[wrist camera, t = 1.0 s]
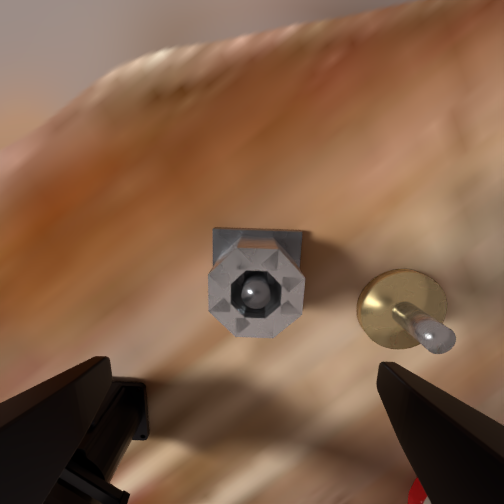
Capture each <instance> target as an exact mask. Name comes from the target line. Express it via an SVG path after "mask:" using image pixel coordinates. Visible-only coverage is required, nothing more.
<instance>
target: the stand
mask: <svg viewBox="0 0 504 504" xmlns="http://www.w3.org/2000/svg"><path fill="white" fill-rule="evenodd" d="M241 236H253V237H273V238H274V239H275V240H276V241H277V242H278V243H279V244H280V245H281V246H282V247H283V248H284V249H285V251H286V252H287V253H288V254H289V255H290V256H291V257H292V258H293V259H294V260H295V262H296V264H297V265H298V267H299V268H300V256H301V244H302V231H301V230H282V229H252V228H222V227H215V228H213V266H214V264H215V263H216V261H217V260H218V258H219V257H220V256H221V255H222V254H223V253H224V252H225V251H226V250H227V249H228V248H229V247H230V246H231V245H233V244H234V243H235V242H236V241H237V240H238V239H239V238H240V237H241ZM236 280H237V281H238V282H239V283H240V284H241V285H242V286H243V288H242V300H243V302H244V304H245V305H247V306H248V307H250V308H253V309H259V308H262V307H264V306H266V305H267V303H268V302H269V300H270V289H269V286H271V285H272V284H273V283H274V282H275V278H274V277H273V276H272V275H271V274H270V273H269V272H268V271H251V270H246V271H245V272H244V273H243V274H241V275H240V276H239V277H238V278H237V279H236Z"/></svg>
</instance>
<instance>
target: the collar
mask: <svg viewBox="0 0 504 504" xmlns="http://www.w3.org/2000/svg"><path fill="white" fill-rule="evenodd" d="M246 270H251V271H268V272H269V273H270V274H271V275H272V276H273V277H274V278H275V282H274V283H273V284H272V285H271V286H269V289H270V300H269V302H268V303H267V305H266V306H264V307H262V308H259V309H253V308H250V307H248V306H247V305H245V304H244V302H243V300H242V288H243V286H242V285H241V284H240V283H239V282H238V281H237V280H236V279H237V278H238V277H239V276H240V275H241V274H243V273H244V272H245V271H246ZM304 287H305V277H304V275H303V273H302V272H301V270H300V269H299V267H298V265H297V264H296V262H295V260H294V259H293V258H292V257H291V256H290V255H289V254H288V253H287V252H286V251H285V249H284V248H283V247H282V246H281V245H280V244H279V243H278V242H277V241H276V240H275V239H274V238H273V237H253V236H241V237H240V238H239V239H238V240H237V241H236V242H235V243H234V244H233V245H231V246H230V247H229V248H228V249H227V250H226V251H225V252H224V253H223V254H222V255H221V256H220V257H219V258H218V260H217V261H216V263H215V264H214V266H213V268H212V269H211V271H210V272H209V274H208V300H209V312H210V313H211V314H212V315H213V316H214V317H215V318H216V319H217V320H218V321H219V322H220V323H222V324H223V325H224V326H225V327H226V328H227V329H228V330H229V331H230V332H231V333H232V334H233V335H234V336H235V337H256V338H274V337H275V336H276V335H278V334H279V333H280V332H281V331H283V330H284V329H285V328H286V327H288V326H289V325H290V324H291V323H292V322H294V321H295V320H296V319H297V318H299V317H300V316H301V315H302V310H303V298H304Z"/></svg>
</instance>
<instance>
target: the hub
mask: <svg viewBox="0 0 504 504" xmlns="http://www.w3.org/2000/svg"><path fill="white" fill-rule="evenodd" d="M446 310H447V302H446V297H445V294H444V292H443V290H442V288H441V287H440V285H439V284H438V283H437V282H436V281H434V280H433V279H431V278H430V277H428V276H426V275H423V274H421V273H419V272H416V271H413V270H409V269H396V270H391V271H387V272H385V273H382V274H380V275H379V276H377V277H375V278H374V279H373V280H371V281H370V282H369V283H368V284H367V285H366V287H365V288H364V289H363V291H362V292H361V294H360V296H359V299H358V303H357V318H358V321H359V324H360V326H361V327H362V329H363V330H364V331H365V332H366V334H367V335H368V336H369V337H370V338H371V339H372V340H373V341H374V342H376V343H377V344H379V345H381V346H383V347H386V348H390V349H407V348H411V347H414V346H417V345H419V344H422V345H423V346H424V347H425V348H426V349H427V350H428V351H430V352H431V353H434V354H442V353H445V352H447V351H449V350H450V349H451V348H452V347H453V346H454V344H455V342H456V336H455V333H454V332H453V331H452V330H451V329H449V328H448V327H446V326H445V325H443V324H442V323H443V321H444V318H445V315H446Z"/></svg>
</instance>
